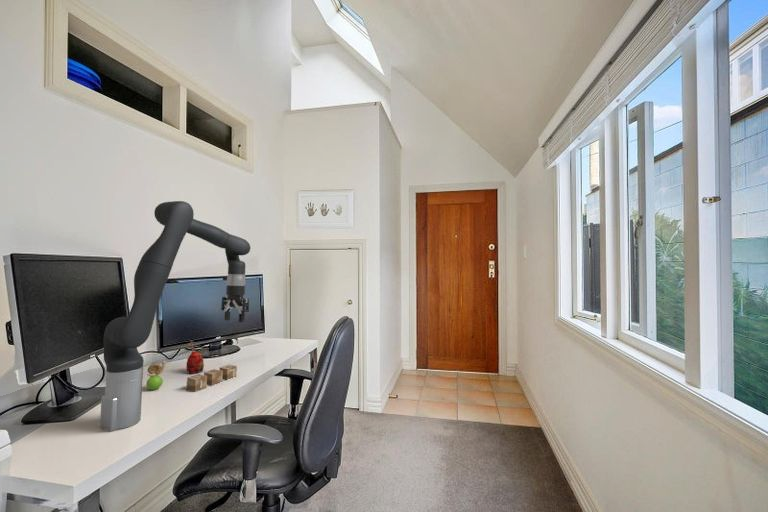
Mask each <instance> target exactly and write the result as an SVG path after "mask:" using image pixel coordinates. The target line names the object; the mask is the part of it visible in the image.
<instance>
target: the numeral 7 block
mask: <svg viewBox="0 0 768 512" xmlns="http://www.w3.org/2000/svg"><path fill="white" fill-rule="evenodd" d="M218 370H222V371H223V376H222V380H223V379H225V380H224V381H229V380H228V379H230V380H232V379H234V378H233V377H235V378H237V377H236V376H237V374H238V373H237V372H238V371H237V370H238V366H237V365H233V364H227V365H223V366H219V369H218ZM231 378H232V379H231Z"/></svg>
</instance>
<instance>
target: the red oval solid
mask: <svg viewBox="0 0 768 512" xmlns="http://www.w3.org/2000/svg"><path fill="white" fill-rule="evenodd" d="M189 341H190V343H187V345H188V346H191V349H192V352H191V354H190V355H189V356H188V358H187V359H186V360H187V361H186V366H185V367H186V372H187V373H188V374H192V375H194V374H195V375H196V374H198V373H201V372H203V371H204V367H205V363H204V359H203V357H202V354H201V353H200V351H198V352H197V351H196V352H195V350H194V349H195V348H194V345H193V343H194V341H192V340H191V339H189Z"/></svg>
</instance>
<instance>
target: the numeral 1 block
mask: <svg viewBox="0 0 768 512" xmlns="http://www.w3.org/2000/svg"><path fill="white" fill-rule="evenodd" d="M207 386H208V385H207V376H205V375H204V374H201V373H200V374H198V373H196V374H195V375H194V374H193V375H192V376H191V375H190V376H188V377H186V390H187V391H188V392H193V393H196V392H199V391H202V390H205V389H207Z"/></svg>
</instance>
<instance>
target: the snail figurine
mask: <svg viewBox="0 0 768 512" xmlns="http://www.w3.org/2000/svg"><path fill="white" fill-rule="evenodd" d="M164 359H165V360H163V361H162V362H161V363H162V364H160V363H157V362H155V363H151V364H150V365H149V366H148V367H147V376H148V377H149V378H148V379H147V380H146V384H145V385H146V388H147V389H148V390H151V391H155V390H158V389H159V388H160V387H162V386H163V382H164V380H163V377H162V376H161V374H162V373H163V372H164V370H165V367H166V364H167V361H166V360H167V357H164Z"/></svg>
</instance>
